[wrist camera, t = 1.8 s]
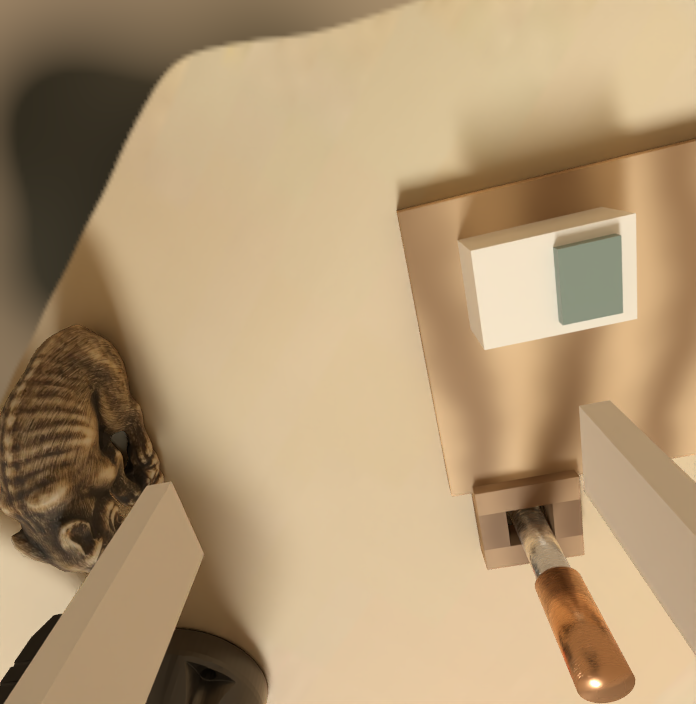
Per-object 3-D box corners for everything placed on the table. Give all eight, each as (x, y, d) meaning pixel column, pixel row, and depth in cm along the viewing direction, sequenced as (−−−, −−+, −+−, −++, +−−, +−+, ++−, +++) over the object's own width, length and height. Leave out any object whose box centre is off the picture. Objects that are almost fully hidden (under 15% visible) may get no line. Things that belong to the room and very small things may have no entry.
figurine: (89, 495, 36) (-4, 612, 27) (47, 316, 31) (-88, 383, 21) (169, 498, 36) (103, 615, 27) (141, 317, 31) (46, 386, 21)
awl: (505, 523, 36) (578, 706, 24) (501, 494, 35) (574, 669, 23) (542, 517, 36) (635, 699, 24) (539, 488, 35) (634, 661, 23)
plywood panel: (449, 485, 35) (460, 526, 31) (396, 210, 28) (402, 218, 24) (896, 407, 32) (972, 441, 28) (968, 72, 24) (1083, 56, 21)
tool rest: (481, 549, 37) (487, 569, 35) (468, 476, 35) (474, 494, 33) (572, 534, 36) (584, 554, 34) (566, 459, 34) (579, 476, 32)
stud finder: (470, 328, 29) (487, 354, 25) (457, 240, 27) (473, 253, 23) (605, 300, 28) (643, 322, 24) (601, 206, 26) (642, 214, 22)
